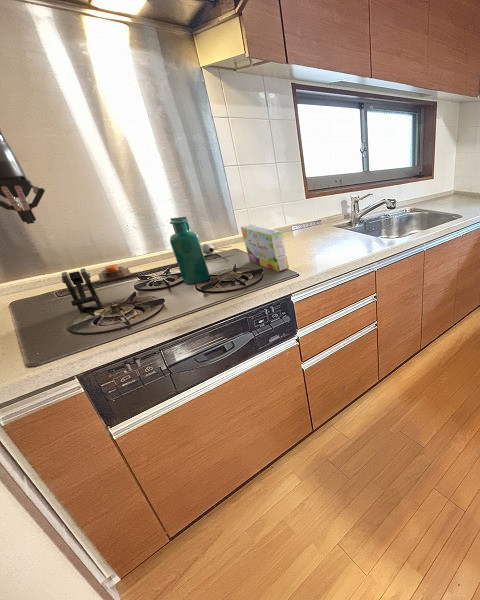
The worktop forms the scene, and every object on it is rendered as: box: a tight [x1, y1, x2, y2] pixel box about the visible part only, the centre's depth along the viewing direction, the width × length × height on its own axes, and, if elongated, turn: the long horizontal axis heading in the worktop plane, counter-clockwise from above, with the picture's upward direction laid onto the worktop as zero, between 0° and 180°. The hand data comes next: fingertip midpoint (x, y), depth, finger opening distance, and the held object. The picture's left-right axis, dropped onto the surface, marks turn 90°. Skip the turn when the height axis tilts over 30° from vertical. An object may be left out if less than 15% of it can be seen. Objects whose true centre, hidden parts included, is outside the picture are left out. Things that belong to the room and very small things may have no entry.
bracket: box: [60, 267, 103, 314], centre depth 95 cm, size 10×9×13 cm
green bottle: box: [169, 216, 211, 285], centre depth 115 cm, size 10×8×22 cm
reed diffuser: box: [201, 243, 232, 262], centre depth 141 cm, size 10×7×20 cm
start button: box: [104, 264, 119, 272], centre depth 119 cm, size 4×4×2 cm
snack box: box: [240, 224, 290, 273], centre depth 129 cm, size 21×6×15 cm, turn 53°
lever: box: [68, 270, 97, 307], centre depth 91 cm, size 12×5×2 cm, turn 44°
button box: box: [97, 266, 133, 284], centre depth 120 cm, size 11×9×4 cm
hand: (30, 223), depth 96 cm, fingers closed
